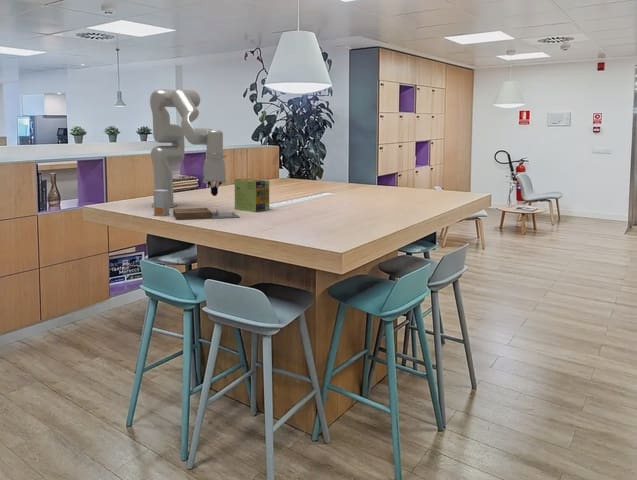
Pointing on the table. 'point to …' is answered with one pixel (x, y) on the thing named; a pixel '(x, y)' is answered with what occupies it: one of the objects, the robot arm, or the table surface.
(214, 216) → the mat
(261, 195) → the protein box
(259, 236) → the table surface
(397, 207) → the table surface
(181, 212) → the board
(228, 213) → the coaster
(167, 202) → the skincare box
